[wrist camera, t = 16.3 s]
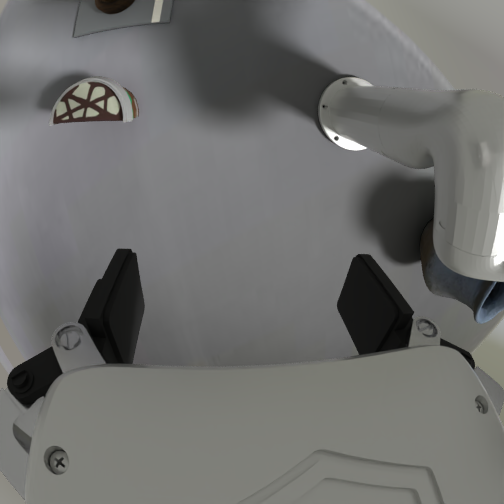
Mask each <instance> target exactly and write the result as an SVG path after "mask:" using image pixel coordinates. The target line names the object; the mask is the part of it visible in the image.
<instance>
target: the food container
mask: <svg viewBox="0 0 504 504" xmlns="http://www.w3.org/2000/svg"><path fill="white" fill-rule="evenodd" d="M138 116H139V108H138V104H137V100H136V99H135V97H134V96H133V94H132V93H131V92H130V91H128V90H127V89H126V88H123V87H122V86H120V85H119V84H118V83H117V82H115V81H114V80H112V79H109V78H106V77H101V76H96V77H89V78H86V79H83V80H81V81H78V82H76V83H75V84H73V85H71V86H70V87H69V88H67V89H66V90H65V91H64V92H63V93H62V95H61V96H60V97H59V98H58V100H57V101H56V103H55V105H54V107H53V109H52V112H51V116H50V120H49V126H51V125H55V124H59V123H69V122H87V121H123V122H129V121H133V118H136V117H138Z"/></svg>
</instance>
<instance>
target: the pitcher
mask: <svg viewBox="0 0 504 504" xmlns="http://www.w3.org/2000/svg"><path fill="white" fill-rule="evenodd" d="M433 224H434V218H433V219H432V220H431V221H430V222H429V223H428V224H427V225H426V227H425V229H424V231H423V233H422V236H421V241H420V253H421V264H422V271H423V277H424V280H425V283H426V286H427V287H428V289H429V290H430V291H431V292H432V293H433V294H435V295H438V296H442V297H447V298H452V299H456V300H458V301H460V302H462V303H464V304H466V305H467V306H468V307H470V308H471V309H472V310H473V312H474V319H475V321H476V322H477V323H479V324H482V323H485V322H487V321H489V320H491V319H493V318H494V317H495V316H496V314H498V313H499V312H500V311H502V310H504V282H499V281H489V280H481V279H475V278H471V277H467V276H464V275H461V274H458V273H456V272H454V271H452V270H451V269H449V268H448V267H447V266H445V265H444V264H443V263H442V262H441V260H440V259H439V257H438V256H437V254H436V251H435V248H434V243H433Z"/></svg>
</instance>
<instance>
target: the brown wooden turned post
mask: <svg viewBox="0 0 504 504" xmlns="http://www.w3.org/2000/svg"><path fill="white" fill-rule="evenodd" d="M134 1H135V0H95V5H96V7H97V8H98V9H99V10H101V11H102V12H104V13H106V14H117V13H120V12H122V11H124V10H126V9H127V8H128V7H130V6H131V5H132V4H133V2H134Z"/></svg>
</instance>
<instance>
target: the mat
mask: <svg viewBox="0 0 504 504" xmlns="http://www.w3.org/2000/svg"><path fill="white" fill-rule="evenodd" d="M172 5H173V0H135V1H134V2H133V4H132V5H131V6H130V7H128V8H127V9H126V10H124V11H122V12H120V13H117V14H106V13H104V12H102V11H101V10H99V9H98V8H97V7H96V5H95V0H81V2H80V6H79V10H78V15H77V20H76V26H75V32H74V37H75V38H77V37H81V36H85V35H89V34H93V33H98V32H102V31H107V30H113V29H119V28H125V27H132V26H139V25H148V24H159V23H170V17H171V11H172Z"/></svg>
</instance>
